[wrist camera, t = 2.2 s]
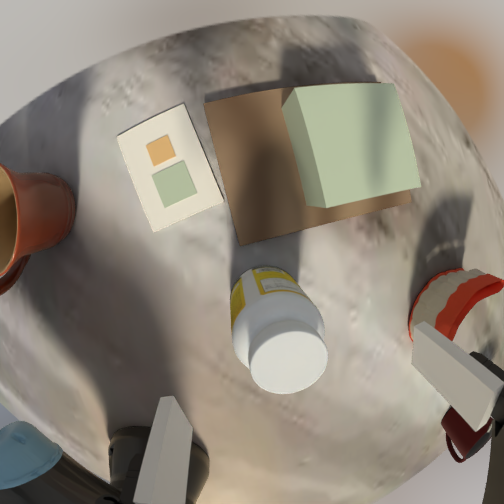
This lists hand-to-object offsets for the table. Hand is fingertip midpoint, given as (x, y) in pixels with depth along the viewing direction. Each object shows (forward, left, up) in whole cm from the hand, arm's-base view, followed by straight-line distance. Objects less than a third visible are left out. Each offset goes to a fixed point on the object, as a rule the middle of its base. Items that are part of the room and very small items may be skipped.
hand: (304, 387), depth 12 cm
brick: (+10, +12, -13) cm, 20 cm away
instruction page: (-6, +14, -14) cm, 20 cm away
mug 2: (+31, -40, -14) cm, 52 cm away
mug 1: (-20, +13, -14) cm, 28 cm away
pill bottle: (0, 0, -14) cm, 14 cm away
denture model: (+20, -9, -14) cm, 26 cm away
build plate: (+8, +12, -14) cm, 20 cm away
